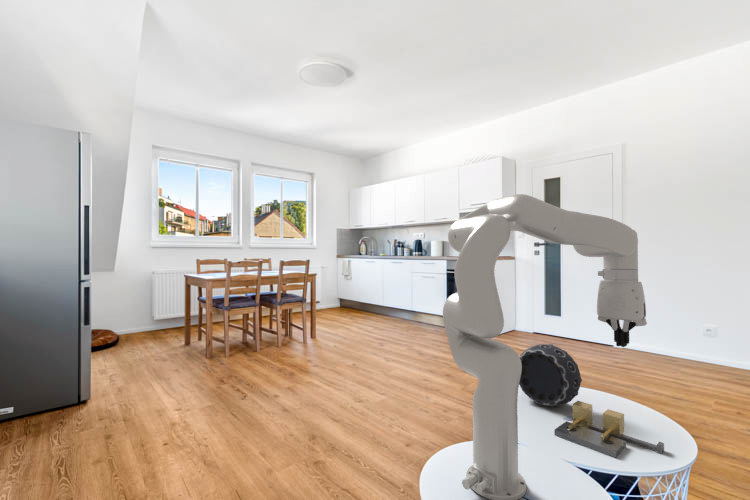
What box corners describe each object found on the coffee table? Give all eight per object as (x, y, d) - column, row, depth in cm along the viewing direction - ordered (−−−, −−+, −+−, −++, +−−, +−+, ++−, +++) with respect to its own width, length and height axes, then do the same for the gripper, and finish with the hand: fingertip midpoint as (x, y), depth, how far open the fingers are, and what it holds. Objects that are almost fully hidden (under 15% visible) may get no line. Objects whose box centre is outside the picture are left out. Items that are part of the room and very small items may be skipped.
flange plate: (615, 457, 89) (615, 451, 89) (554, 435, 101) (554, 429, 101) (626, 446, 94) (625, 440, 95) (566, 426, 106) (566, 421, 106)
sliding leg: (610, 445, 93) (610, 426, 93) (593, 439, 96) (593, 420, 96) (624, 431, 100) (624, 413, 100) (608, 426, 103) (607, 409, 103)
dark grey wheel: (528, 391, 133) (527, 337, 134) (585, 409, 117) (584, 348, 118) (512, 398, 127) (511, 342, 127) (570, 418, 111) (569, 354, 111)
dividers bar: (653, 465, 86) (653, 439, 86) (562, 432, 102) (562, 410, 102) (664, 449, 93) (664, 425, 93) (578, 421, 109) (577, 400, 109)
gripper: (584, 275, 97) (585, 342, 97) (651, 277, 86) (653, 354, 86) (594, 274, 102) (595, 338, 102) (659, 276, 91) (661, 348, 90)
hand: (621, 345), depth 94 cm, fingers closed
